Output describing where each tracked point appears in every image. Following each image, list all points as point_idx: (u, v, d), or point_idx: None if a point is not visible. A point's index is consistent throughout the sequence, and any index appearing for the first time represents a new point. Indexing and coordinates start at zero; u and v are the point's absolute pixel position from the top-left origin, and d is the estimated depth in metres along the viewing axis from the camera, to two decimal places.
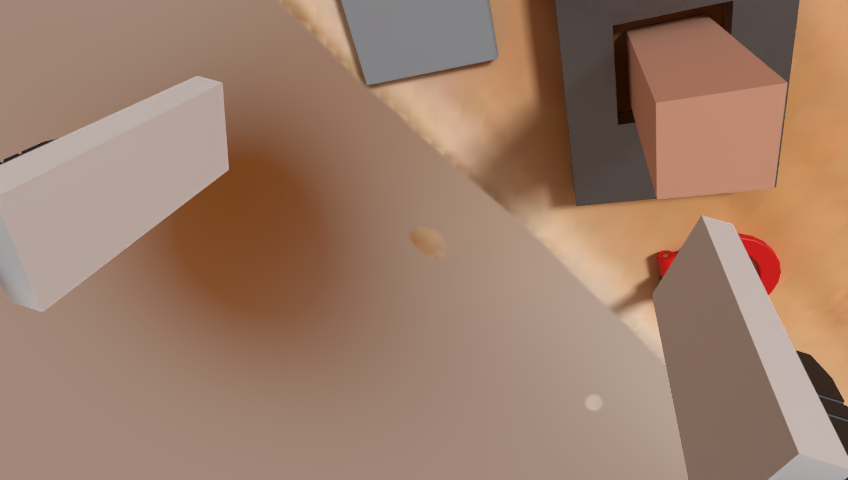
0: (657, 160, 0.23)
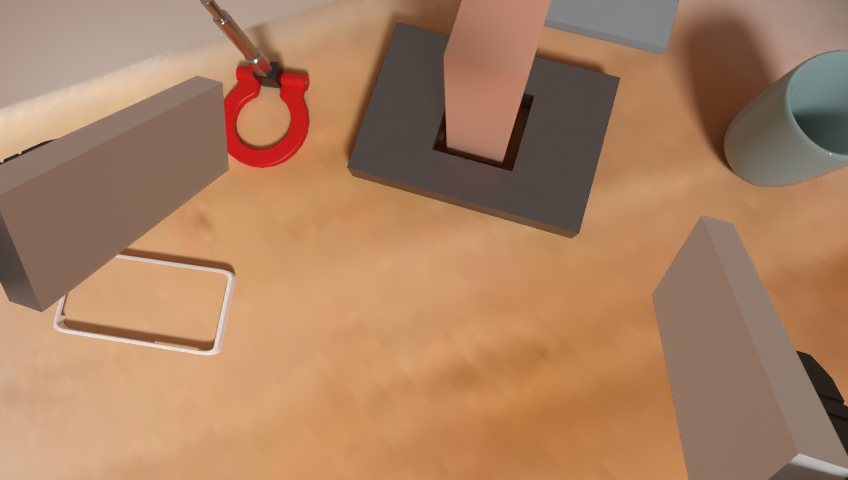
0: None
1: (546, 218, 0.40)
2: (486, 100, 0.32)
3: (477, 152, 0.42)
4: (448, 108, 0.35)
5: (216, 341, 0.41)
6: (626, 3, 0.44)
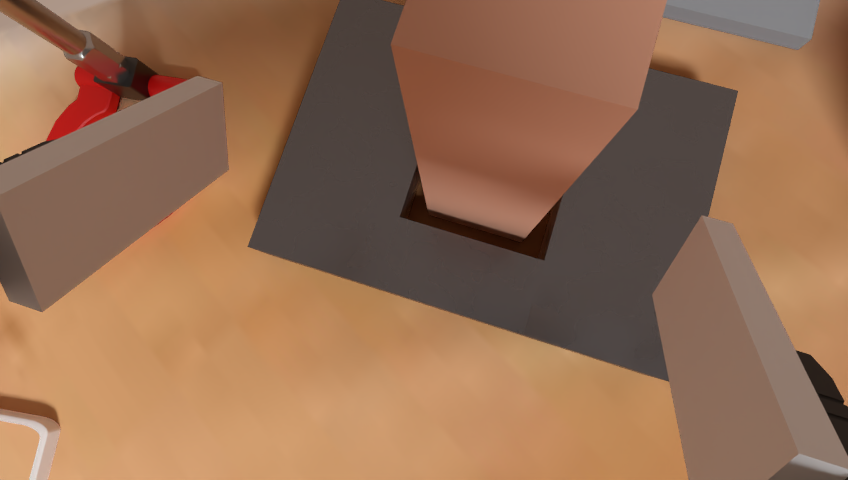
0: None
1: (607, 351, 0.22)
2: (506, 152, 0.14)
3: (481, 221, 0.23)
4: (421, 158, 0.17)
5: None
6: None
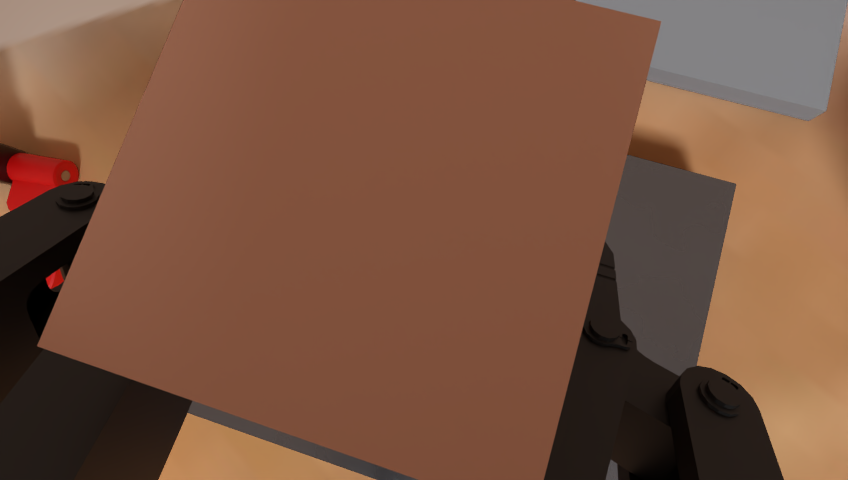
0: None
1: None
2: None
3: None
4: None
5: None
6: (734, 13, 0.21)
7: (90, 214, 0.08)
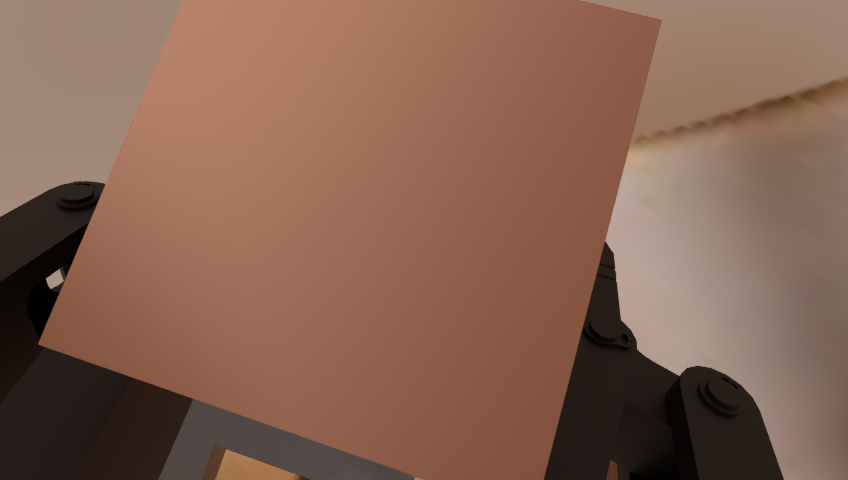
0: None
1: None
2: None
3: None
4: None
5: None
6: None
7: (90, 214, 0.08)
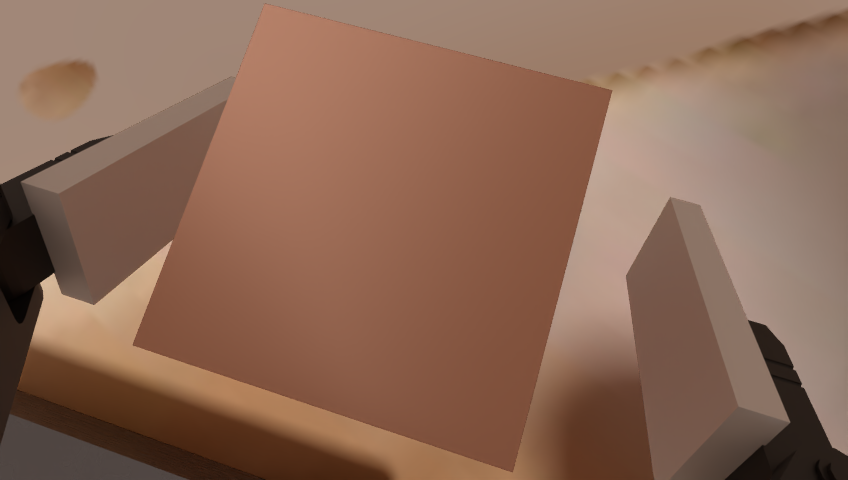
0: (406, 42, 0.07)
1: None
2: None
3: None
4: None
5: None
6: None
7: None
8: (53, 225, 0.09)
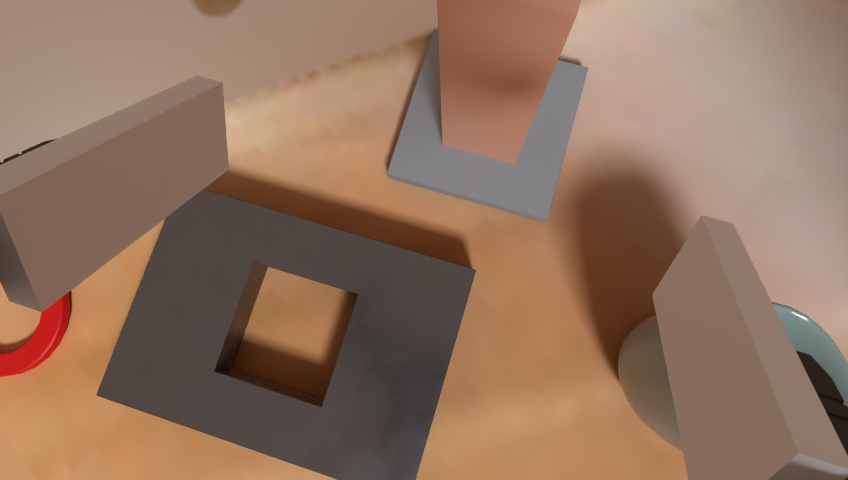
0: None
1: None
2: (503, 62, 0.21)
3: (484, 144, 0.31)
4: (443, 79, 0.24)
5: None
6: None
7: None
8: None
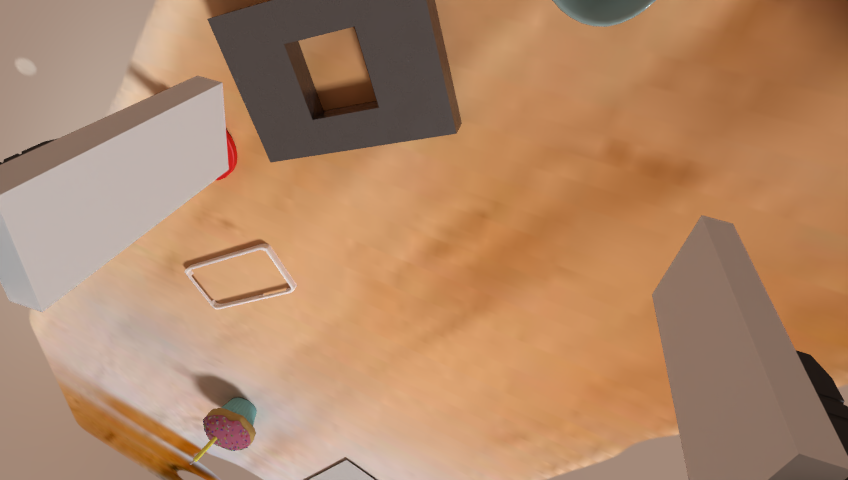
0: None
1: (425, 133, 0.44)
2: None
3: None
4: None
5: (289, 284, 0.62)
6: None
7: None
8: None
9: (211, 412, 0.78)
